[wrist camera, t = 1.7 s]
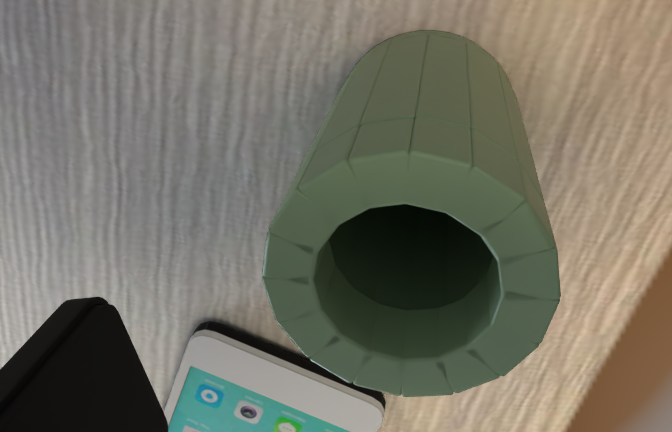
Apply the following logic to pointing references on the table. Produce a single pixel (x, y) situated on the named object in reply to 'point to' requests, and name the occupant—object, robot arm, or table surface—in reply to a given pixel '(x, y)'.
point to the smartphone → (262, 390)
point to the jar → (416, 226)
